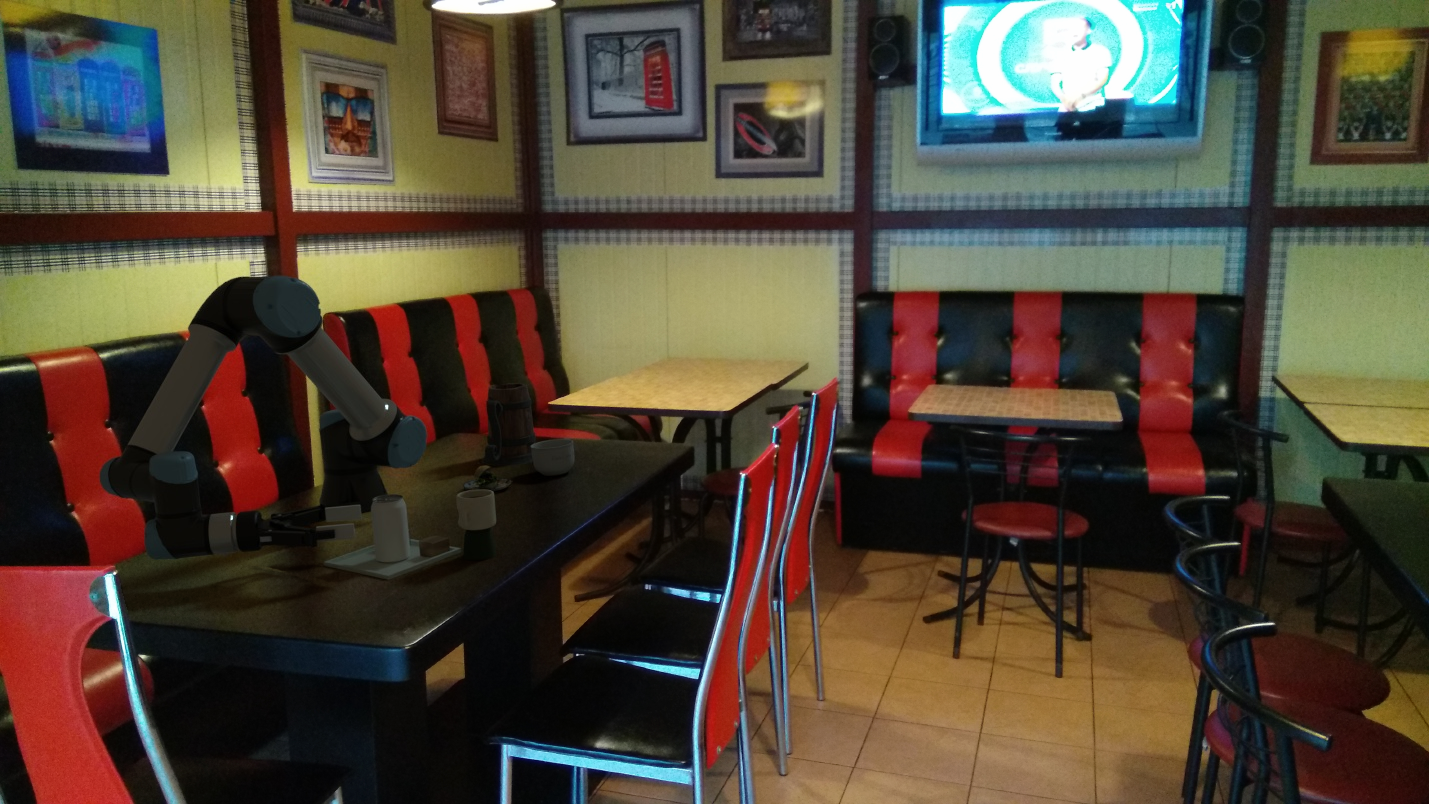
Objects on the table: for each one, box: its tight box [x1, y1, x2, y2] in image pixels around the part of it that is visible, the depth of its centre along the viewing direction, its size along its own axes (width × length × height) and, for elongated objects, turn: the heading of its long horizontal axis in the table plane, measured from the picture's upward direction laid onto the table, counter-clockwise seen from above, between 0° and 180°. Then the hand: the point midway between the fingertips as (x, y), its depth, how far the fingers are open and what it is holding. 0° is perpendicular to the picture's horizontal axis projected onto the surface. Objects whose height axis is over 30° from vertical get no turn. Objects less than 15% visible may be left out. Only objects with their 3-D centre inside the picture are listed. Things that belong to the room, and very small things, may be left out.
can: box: [370, 493, 410, 563], centre depth 211 cm, size 6×6×12 cm
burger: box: [462, 462, 513, 492], centre depth 266 cm, size 12×12×8 cm
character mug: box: [455, 489, 497, 561], centre depth 211 cm, size 11×7×13 cm, turn 166°
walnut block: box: [419, 535, 451, 558], centre depth 214 cm, size 4×4×3 cm
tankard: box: [481, 382, 537, 467], centre depth 295 cm, size 24×17×20 cm
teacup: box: [531, 437, 575, 477], centre depth 281 cm, size 14×11×8 cm
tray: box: [323, 538, 462, 581], centre depth 212 cm, size 18×18×2 cm
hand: (357, 520), depth 209 cm, fingers open, 13 cm apart
